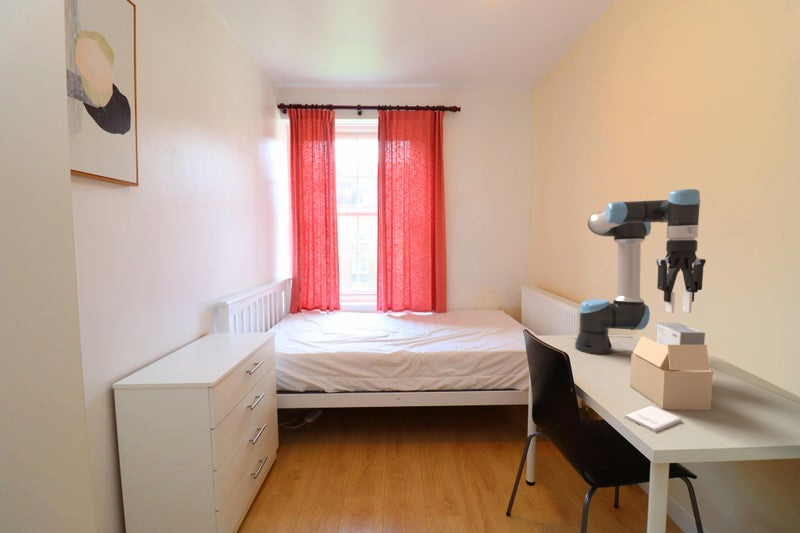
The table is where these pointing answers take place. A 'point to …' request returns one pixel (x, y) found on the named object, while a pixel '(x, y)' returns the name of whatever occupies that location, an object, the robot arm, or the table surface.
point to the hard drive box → (678, 334)
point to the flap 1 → (651, 351)
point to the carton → (671, 385)
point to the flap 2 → (688, 357)
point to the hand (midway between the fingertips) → (678, 311)
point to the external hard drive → (653, 418)
